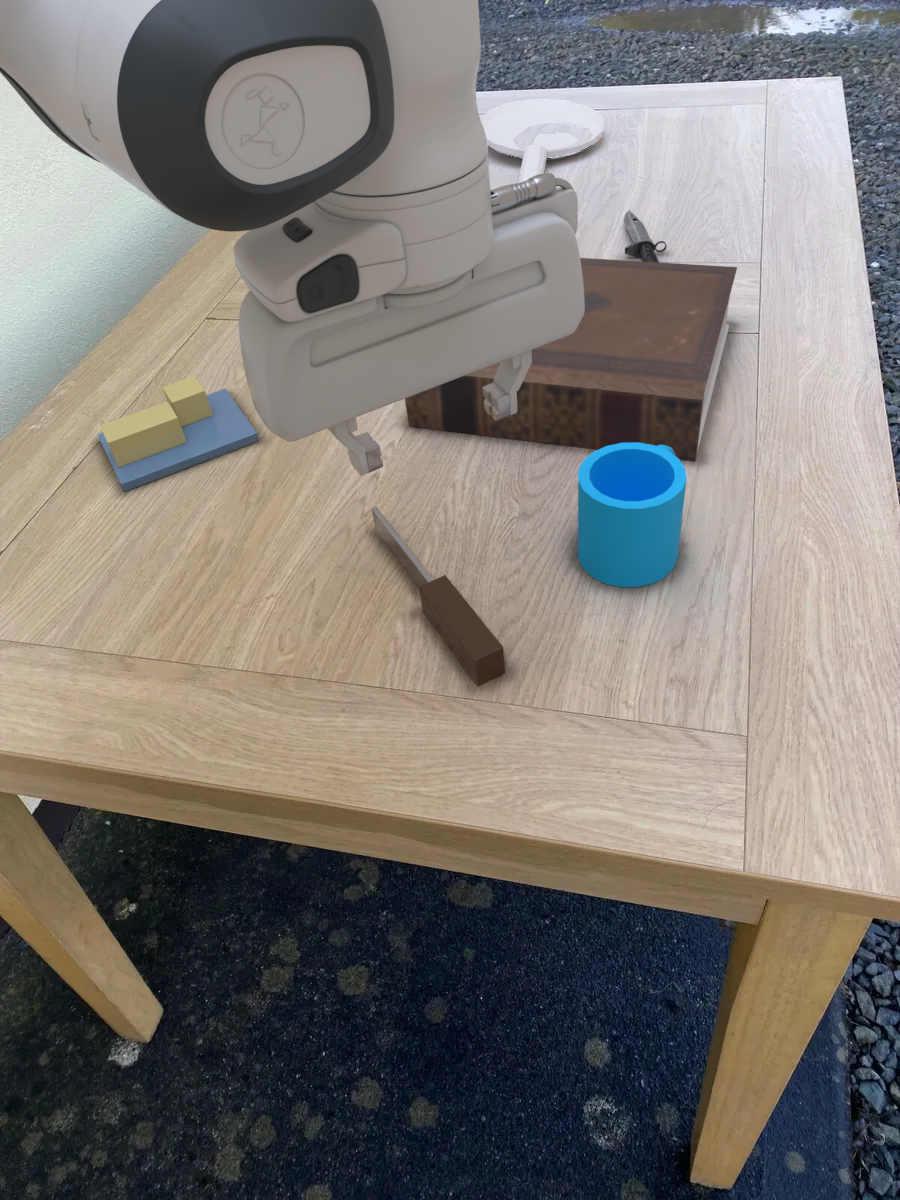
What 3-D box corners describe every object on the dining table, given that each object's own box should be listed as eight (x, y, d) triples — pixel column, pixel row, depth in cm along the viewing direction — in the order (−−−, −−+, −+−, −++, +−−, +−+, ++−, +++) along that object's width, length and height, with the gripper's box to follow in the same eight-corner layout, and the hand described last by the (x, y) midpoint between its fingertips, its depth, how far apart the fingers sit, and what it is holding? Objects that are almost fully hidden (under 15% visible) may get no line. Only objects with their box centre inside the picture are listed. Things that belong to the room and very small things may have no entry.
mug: (651, 600, 71) (658, 521, 65) (559, 567, 75) (558, 489, 69) (711, 511, 78) (723, 432, 72) (624, 484, 81) (628, 407, 76)
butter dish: (124, 492, 88) (109, 459, 85) (100, 441, 94) (86, 409, 91) (259, 441, 92) (249, 407, 89) (227, 396, 98) (217, 363, 95)
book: (695, 461, 83) (702, 399, 78) (409, 426, 91) (400, 368, 86) (729, 325, 98) (737, 267, 94) (482, 305, 106) (478, 251, 102)
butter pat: (180, 427, 93) (171, 402, 91) (171, 411, 95) (161, 387, 93) (213, 415, 94) (204, 390, 92) (202, 400, 96) (194, 375, 94)
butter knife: (477, 687, 67) (474, 660, 65) (366, 536, 80) (360, 510, 78) (505, 673, 68) (503, 647, 65) (390, 526, 81) (385, 499, 78)
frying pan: (596, 226, 122) (599, 192, 119) (456, 221, 124) (455, 188, 121) (604, 119, 145) (606, 87, 141) (485, 116, 147) (485, 86, 144)
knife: (609, 204, 117) (648, 200, 117) (608, 220, 119) (647, 215, 119) (637, 273, 104) (681, 267, 104) (637, 289, 106) (680, 284, 106)
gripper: (544, 147, 52) (549, 362, 61) (201, 255, 46) (267, 472, 56) (610, 180, 47) (604, 405, 57) (242, 303, 42) (306, 529, 52)
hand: (435, 439), depth 57 cm, fingers open, 8 cm apart
